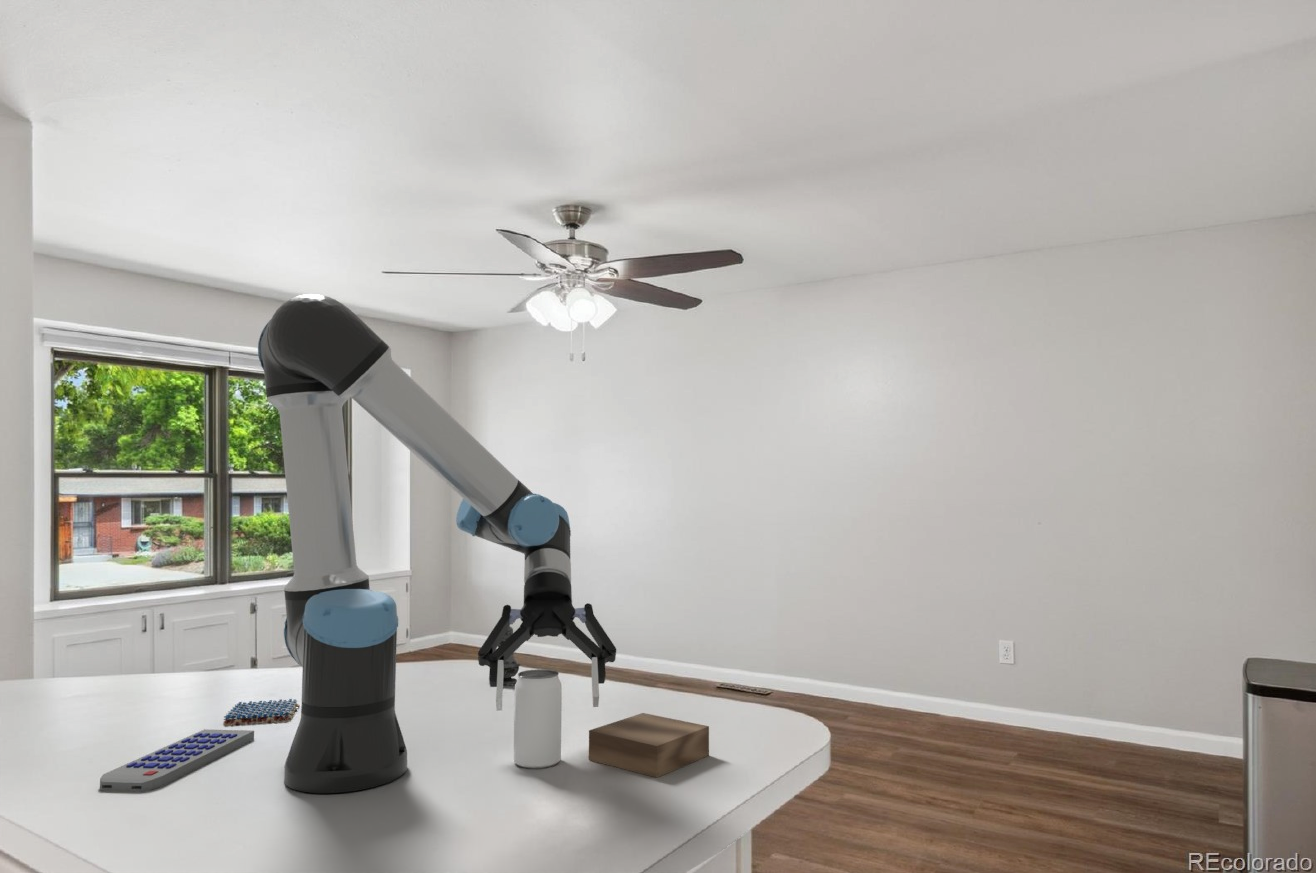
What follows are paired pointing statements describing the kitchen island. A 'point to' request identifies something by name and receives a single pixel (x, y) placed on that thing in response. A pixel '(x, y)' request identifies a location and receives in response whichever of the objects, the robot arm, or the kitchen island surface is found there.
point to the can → (537, 719)
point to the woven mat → (261, 712)
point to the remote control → (174, 760)
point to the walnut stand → (649, 744)
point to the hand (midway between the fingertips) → (547, 703)
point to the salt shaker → (509, 663)
